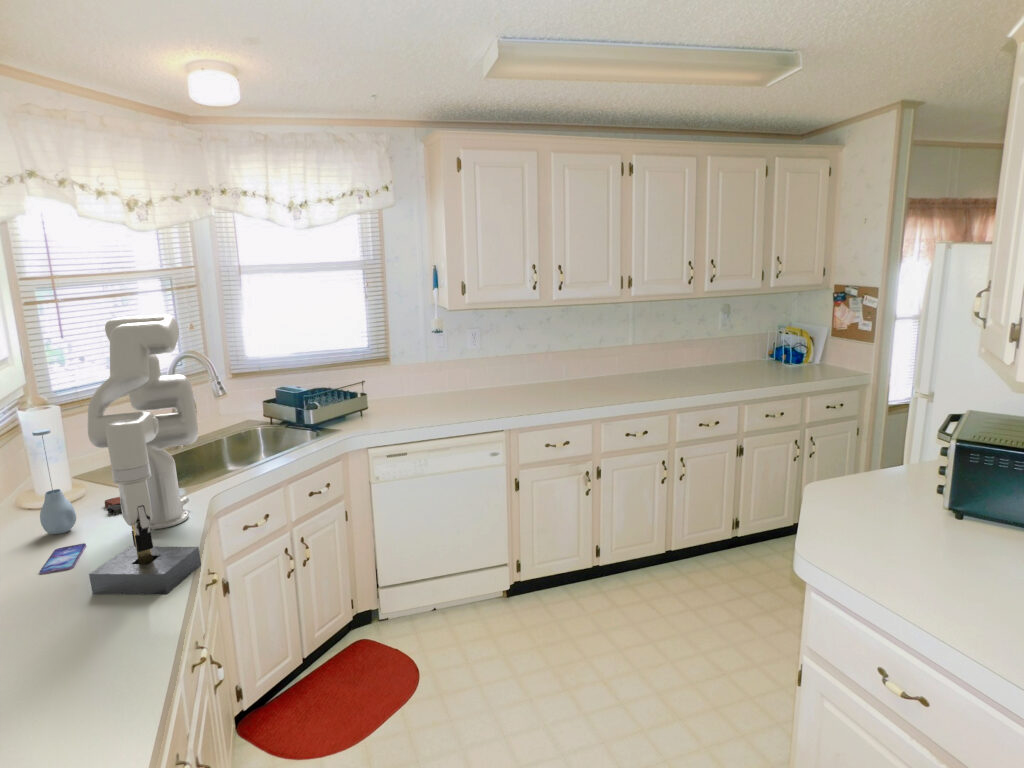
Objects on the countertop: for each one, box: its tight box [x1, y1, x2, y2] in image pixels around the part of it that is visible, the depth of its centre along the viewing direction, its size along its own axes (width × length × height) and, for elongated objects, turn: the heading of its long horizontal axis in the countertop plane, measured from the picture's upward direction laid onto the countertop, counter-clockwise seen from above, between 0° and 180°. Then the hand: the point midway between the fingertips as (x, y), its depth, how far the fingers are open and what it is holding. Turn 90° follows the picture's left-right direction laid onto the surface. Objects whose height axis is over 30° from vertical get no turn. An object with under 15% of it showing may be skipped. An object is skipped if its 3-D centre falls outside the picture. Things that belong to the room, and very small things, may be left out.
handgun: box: [104, 496, 122, 515], centre depth 202 cm, size 16×3×12 cm
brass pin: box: [131, 521, 153, 564], centre depth 151 cm, size 3×3×10 cm
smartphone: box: [38, 542, 87, 575], centre depth 165 cm, size 7×1×15 cm
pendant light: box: [31, 428, 77, 535], centre depth 179 cm, size 8×8×30 cm
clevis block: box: [88, 545, 202, 596], centre depth 152 cm, size 14×18×5 cm
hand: (143, 546), depth 151 cm, fingers closed on brass pin, 2 cm apart
